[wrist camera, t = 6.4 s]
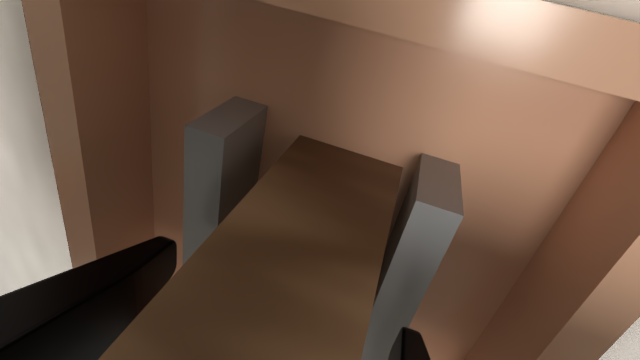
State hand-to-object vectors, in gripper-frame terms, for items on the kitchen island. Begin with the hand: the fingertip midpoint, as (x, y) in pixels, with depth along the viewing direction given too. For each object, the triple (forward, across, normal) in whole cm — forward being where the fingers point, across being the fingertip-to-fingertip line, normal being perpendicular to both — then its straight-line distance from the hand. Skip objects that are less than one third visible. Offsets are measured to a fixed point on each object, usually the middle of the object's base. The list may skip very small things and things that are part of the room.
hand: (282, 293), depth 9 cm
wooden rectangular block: (+3, 0, 0) cm, 3 cm away
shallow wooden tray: (+4, 0, 0) cm, 4 cm away
